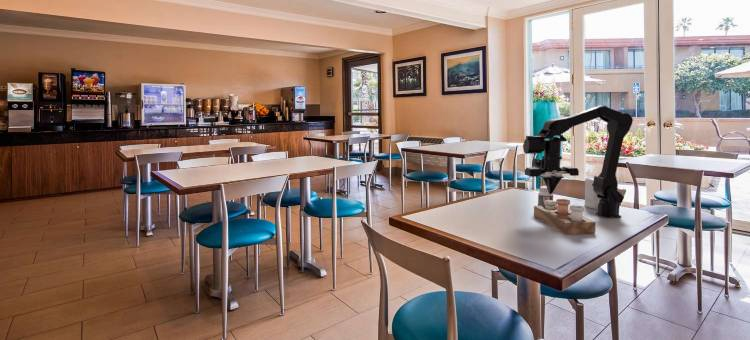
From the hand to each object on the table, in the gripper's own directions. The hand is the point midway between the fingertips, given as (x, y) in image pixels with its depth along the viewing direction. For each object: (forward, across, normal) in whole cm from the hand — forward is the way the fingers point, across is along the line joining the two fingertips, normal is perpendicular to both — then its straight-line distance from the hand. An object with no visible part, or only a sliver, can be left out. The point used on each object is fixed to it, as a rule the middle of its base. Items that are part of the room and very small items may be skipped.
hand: (550, 193), depth 159 cm
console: (+9, 0, +10) cm, 13 cm away
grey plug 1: (+9, 0, 0) cm, 9 cm away
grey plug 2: (+7, 0, +19) cm, 20 cm away
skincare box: (+9, -25, -14) cm, 30 cm away
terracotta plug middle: (+6, 0, +10) cm, 12 cm away
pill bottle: (+10, -3, -10) cm, 15 cm away
